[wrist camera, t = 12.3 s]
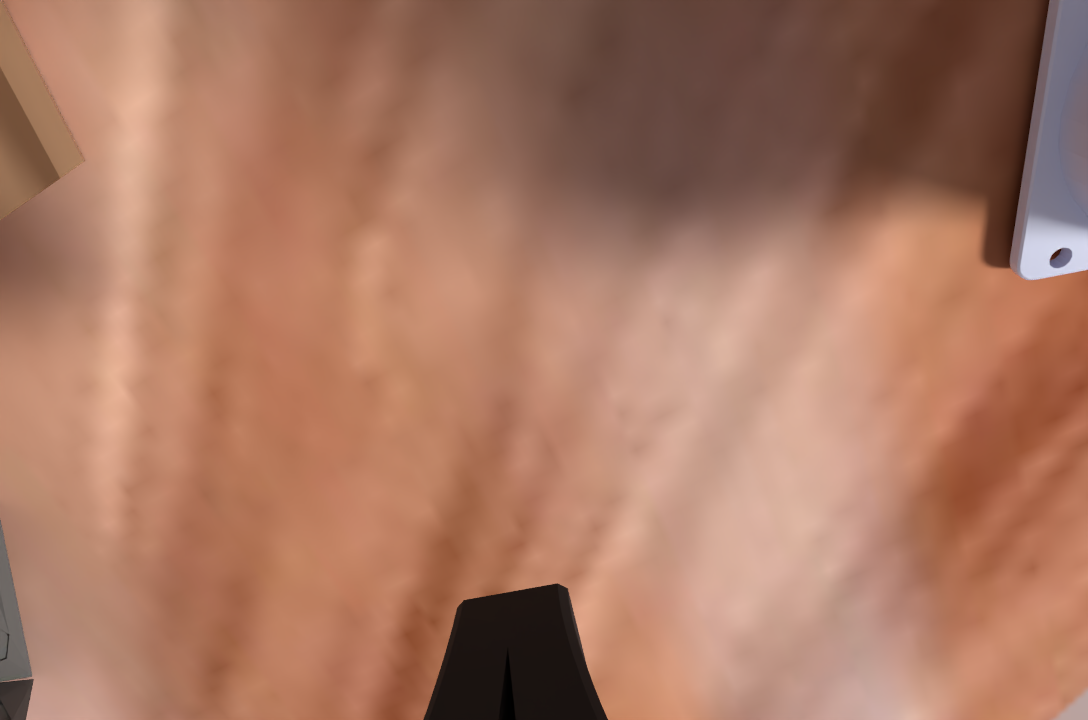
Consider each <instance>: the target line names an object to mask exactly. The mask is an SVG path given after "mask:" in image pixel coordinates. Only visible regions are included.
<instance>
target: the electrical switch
mask: <svg viewBox="0 0 1088 720" xmlns="http://www.w3.org/2000/svg"><path fill="white" fill-rule="evenodd" d="M6 633H7V634H9V637H8V636H7V634H6ZM0 660H1V661H0V720H26V716H27V711H28V706H29V700H30V695H31V690H32V685H33V680H34V679H29V680H20V681H10V682H2V681H8V680H14V679H20V678H25V677H31V676H32V672H31V667H30V662H29V657H28V652H27V647H26V642H25V637H24V633H23V628H22V623H21V618H20V613H19V608H18V603H17V598H16V594H15V589H14V584H13V579H12V574H11V569H10V564H9V559H8V555H7V550H6V545H5V540H4V535H3V530H2V525H1V520H0Z"/></svg>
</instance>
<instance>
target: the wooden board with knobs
mask: <svg viewBox="0 0 1088 720" xmlns="http://www.w3.org/2000/svg"><path fill="white" fill-rule="evenodd" d="M83 162H84V159H83V157H82V155H81V153H80V151H79V149H78V147H77V145H76V143H75V141H74V139H73V137H72V135H71V133H70V131H69V129H68V127H67V126H66V124H65V122H64V120H63V118H62V116H61V114H60V112H59V110H58V108H57V106H56V104H55V102H54V100H53V98H52V96H51V94H50V92H49V91H48V89H47V87H46V85H45V83H44V81H43V79H42V77H41V75H40V73H39V71H38V69H37V67H36V65H35V63H34V61H33V59H32V57H31V56H30V54H29V52H28V50H27V48H26V46H25V44H24V42H23V40H22V38H21V36H20V34H19V32H18V30H17V28H16V26H15V24H14V22H13V21H12V19H11V17H10V15H9V13H8V11H7V9H6V7H5V5H4V3H3V1H2V0H0V220H1V219H3V218H4V217H6V216H7V215H8V214H10V213H11V212H13V211H14V210H16V209H17V208H18V207H20V206H21V205H23V204H24V203H26V202H27V201H28V200H30V199H31V198H33V197H34V196H36V195H37V194H38V193H40V192H41V191H43V190H44V189H46V188H47V187H48V186H50V185H51V184H53V183H54V182H56V181H57V180H58V179H60V178H61V177H63V176H64V175H66V174H67V173H68V172H70V171H71V170H73V169H74V168H76V167H77V166H78V165H80V164H81V163H83Z"/></svg>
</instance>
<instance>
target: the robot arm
mask: <svg viewBox="0 0 1088 720" xmlns="http://www.w3.org/2000/svg"><path fill="white" fill-rule="evenodd" d="M1061 248H1062V249H1061ZM1058 249H1061V252H1060V254H1059V255H1058V256H1057V257H1056V258H1055V259H1053V260H1050V258H1051V256H1052V254H1053V253H1054V252H1055V251H1056V250H1058ZM1049 260H1050V261H1049ZM1010 267H1011V269H1012V270H1013V272H1015V273H1016V274H1017V275H1019V276H1020V277H1021V278H1024V279H1026V280H1037V279H1042V278H1048V277H1053V276H1058V275H1063V274H1069V273H1074V272H1079V271H1084V270H1088V0H1050V2H1049V8H1048V15H1047V21H1046V28H1045V34H1044V41H1043V47H1042V54H1041V60H1040V67H1039V73H1038V80H1037V86H1036V93H1035V99H1034V105H1033V112H1032V118H1031V125H1030V131H1029V138H1028V144H1027V151H1026V157H1025V164H1024V170H1023V177H1022V183H1021V190H1020V196H1019V203H1018V209H1017V216H1016V222H1015V229H1014V235H1013V242H1012V248H1011V255H1010ZM424 720H608V719H607V717H606V714H605V712H604V710H603V707H602V705H601V703H600V700H599V698H598V695H597V693H596V690H595V688H594V685H593V682H592V680H591V677H590V674H589V671H588V668H587V665H586V661H585V657H584V653H583V649H582V645H581V641H580V637H579V633H578V628H577V624H576V620H575V616H574V612H573V608H572V604H571V600H570V596H569V592H568V588H566V587H564V586H562V585H560V584H552V585H547V586H541V587H535V588H530V589H524V590H519V591H513V592H507V593H502V594H496V595H491V596H485V597H479V598H474V599H468V600H464V601H463V602H462V603H461V604H460V605H459V606H458V608H457V611H456V615H455V619H454V623H453V627H452V631H451V635H450V638H449V642H448V646H447V649H446V653H445V656H444V659H443V663H442V666H441V669H440V672H439V675H438V679H437V682H436V685H435V688H434V691H433V694H432V697H431V700H430V703H429V706H428V709H427V712H426V714H425V717H424Z"/></svg>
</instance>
